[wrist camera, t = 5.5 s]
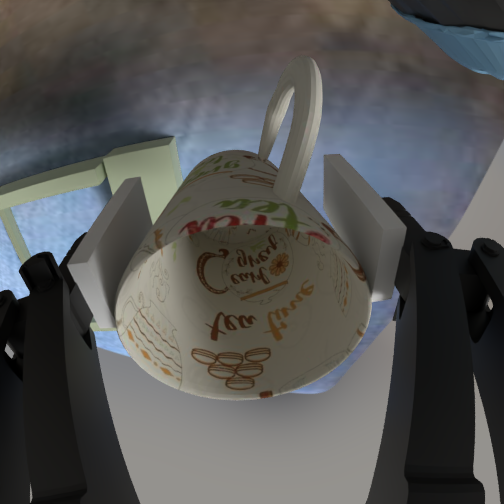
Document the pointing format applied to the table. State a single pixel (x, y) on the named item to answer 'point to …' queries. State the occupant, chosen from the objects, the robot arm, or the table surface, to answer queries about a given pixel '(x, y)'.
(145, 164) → the pale green rectangular frame
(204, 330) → the mug
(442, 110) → the table surface
